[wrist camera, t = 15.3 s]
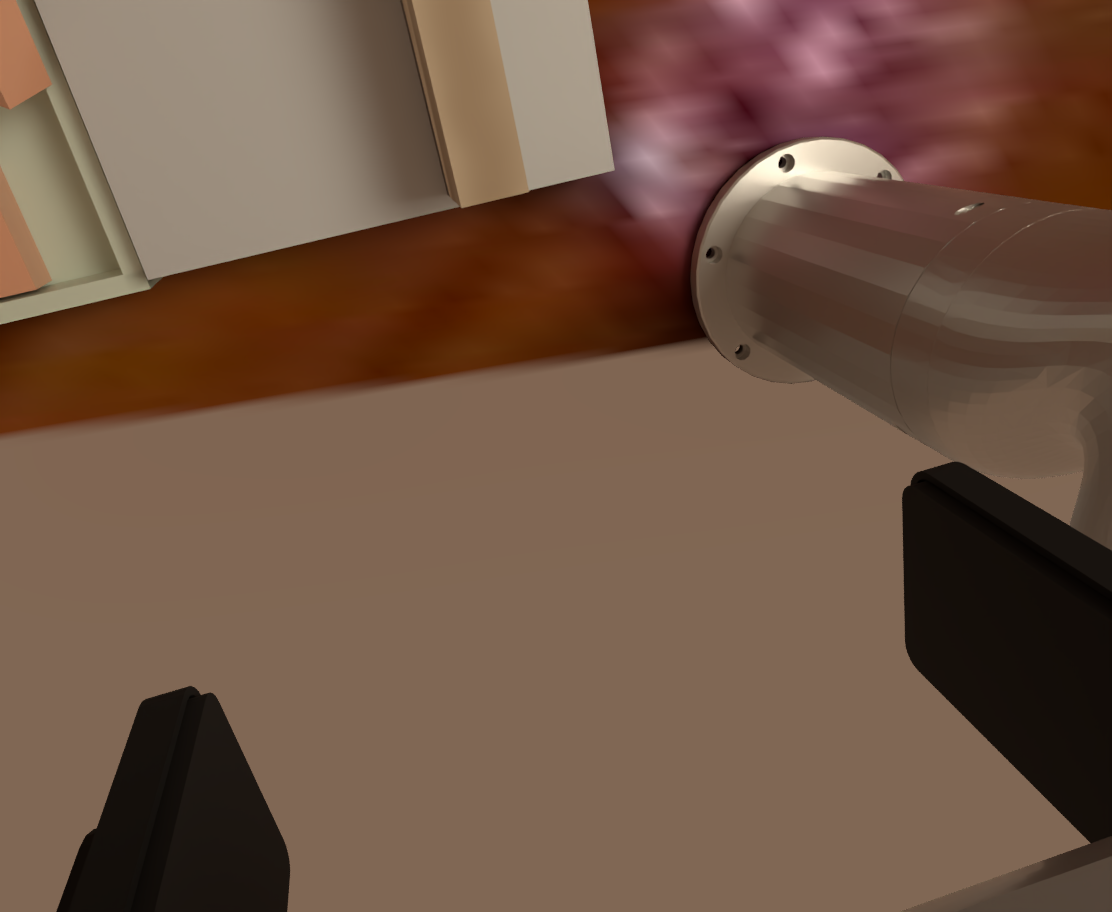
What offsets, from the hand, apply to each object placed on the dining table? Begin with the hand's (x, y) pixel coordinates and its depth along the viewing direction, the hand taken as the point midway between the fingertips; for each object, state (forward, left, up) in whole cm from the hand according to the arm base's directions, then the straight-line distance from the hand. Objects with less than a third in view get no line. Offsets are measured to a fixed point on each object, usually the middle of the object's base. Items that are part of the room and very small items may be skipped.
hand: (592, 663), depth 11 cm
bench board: (+4, -8, -32) cm, 34 cm away
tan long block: (0, -10, -28) cm, 30 cm away
